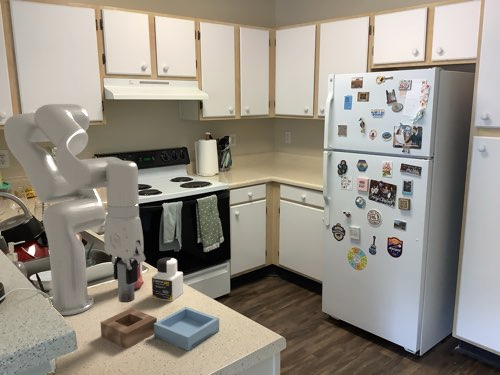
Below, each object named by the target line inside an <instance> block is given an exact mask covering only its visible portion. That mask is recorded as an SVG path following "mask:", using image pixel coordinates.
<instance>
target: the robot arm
mask: <svg viewBox="0 0 500 375" xmlns="http://www.w3.org/2000/svg"><path fill="white" fill-rule="evenodd" d="M90 122H91V121H90V116H89V113H88V112H87V110H86V109H85V108H84V107H82V106H81V105H79V104H74V103H70V104H69V103H60V104H59V103H51V104H49V103H48V104H44V105H41V106H40V107H38V108H37V109H36V110H35V112H34V113H33V112H32V113H31V112H30V113H29V112H28V113H26V112H25V113H18V114H14V115H12V116H9V117H8V118H7V119H6V120H5V122H4V126H3V133H4V134H3V136H4V139H5V142H6V144H7V147H8V149H9V150H10V153H11V154H12V155H13V156H14V158H15V159H16V160H17V162H18V163H19V164H20V165H21V166H22V168H23V170H24V172H25V175H26V177H27V179H28V180H29V183H30V186H31V187H32V189H33V191H34V194H35V196H36V197H37V199H38V200H39V201H40V202H42V203H44V204H51V205H49V206H47V208H45V210H44V211H43V213H42V223H43V227H44V232H45V234H46V238H47V244H48V252H49V264H50V274H51V275H50V276H51V287H52V288H51V289H50V290H49V293H48V294H50V295H51V296H52V300H51V301H50V302H52V305H53V307H54V308H55V309H56V310H57V311H58V312H59V313H60V314H61V315H60V316H72V315H76V314H81V313H83V312H85V311H88V310H89V309H91V308H92V306H94V303H95V302H94V297H93V296H91V295H90V294H88V293H89V292H88V277H87V264H86V262H87V261H86V250H85V246H84V243H83V242H82V241H81V240H80V238H78V237H77V235H76V234H77V233H81V232H85V231H89V230H93V229H96V228H99V227H101V226H103V224H104V231H103V232H104V235H103V246H104V252H105V253H107V254H109V255H108V256H109V257H110V259H111V264H112V265H113V279H114V280H115V281H118V274H117V262H119V261H121V260H123V259H126V261H127V268H128V269H126V283H127V284H128V285H129V284H132V283H134V282H136V281H137V280H138V273H137V267H139V264H140V263H141V262H142V263H143V262H145V261H146V256H145V254H144V234H143V227H142V220H141V217H140V205H139V204H140V202H139V201H140V200H139V172H138V171H139V170H138V169H139V168H138V165H137V163H135V161H131V160H122V159H120V158H118V157H115V156H107V157H106V156H104V157H96V158H87V159H86V158H85V159H79V158H78V157H77V156H78V155H79V154H80V153H82V152H83V151H84V149H85V148H86V147H87V146H88V143H89V135H88V133H87V130H88V129H89V126H90ZM43 142H51V143H52V144H53V146H55V148H56V151H55V160H54V158H53V157H52V154H50V153H49V152H48V151H47V150H46V149H44V148H43V147H41V146H40V145H38V144H37V143H43ZM102 188H106V208H107V212H106V208H105V206H104V203H103V201H102V199H101V197H100V194H98V191H97V189H102ZM106 213H107V214H106ZM131 259H134V261H133V262H132V263H131Z"/></svg>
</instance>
